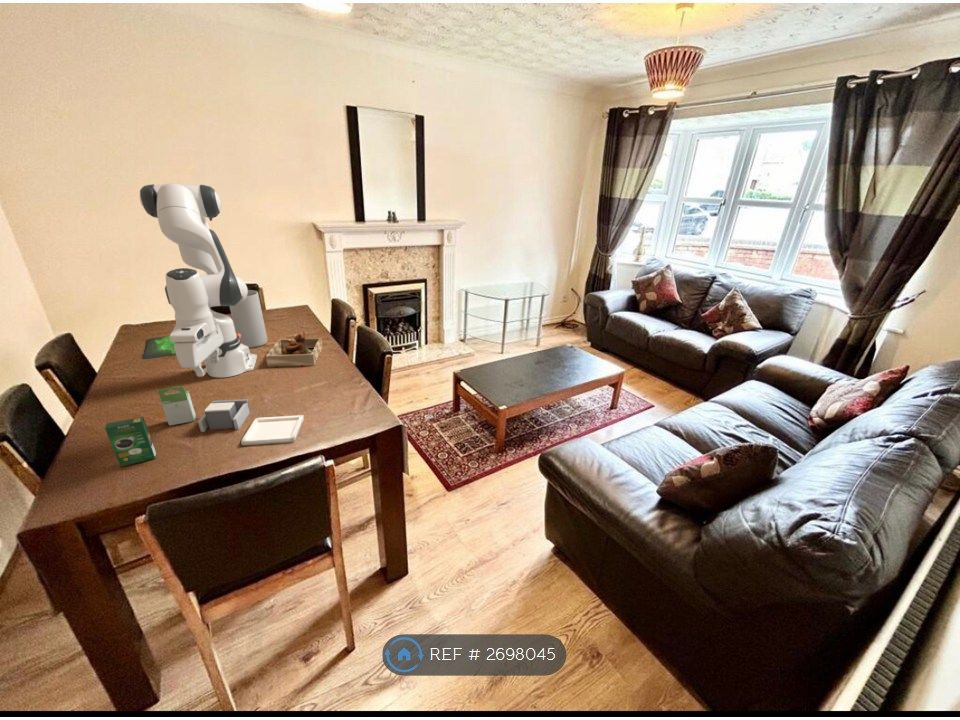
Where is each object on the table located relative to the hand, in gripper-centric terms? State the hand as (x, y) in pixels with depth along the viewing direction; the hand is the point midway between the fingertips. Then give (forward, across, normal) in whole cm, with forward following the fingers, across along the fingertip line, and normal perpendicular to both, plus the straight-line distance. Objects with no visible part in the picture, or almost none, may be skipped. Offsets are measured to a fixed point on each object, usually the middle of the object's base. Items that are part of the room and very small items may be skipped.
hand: (208, 368), depth 118 cm
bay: (+20, -2, 0) cm, 21 cm away
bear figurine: (+21, -53, +10) cm, 58 cm away
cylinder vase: (+20, -72, -14) cm, 76 cm away
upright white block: (+21, 0, 0) cm, 21 cm away
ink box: (+21, -4, -14) cm, 25 cm away
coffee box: (+21, +16, -16) cm, 31 cm away
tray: (+21, +6, +17) cm, 27 cm away
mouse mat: (+21, -73, -49) cm, 91 cm away
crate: (+20, -54, +10) cm, 59 cm away
